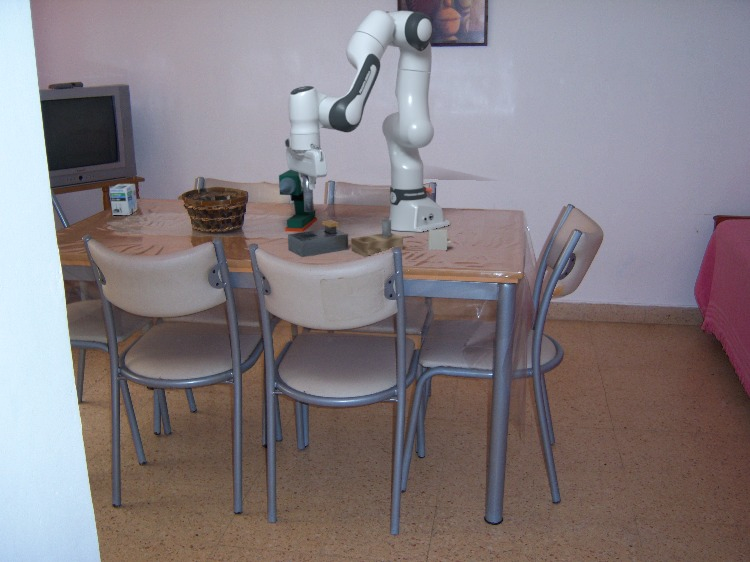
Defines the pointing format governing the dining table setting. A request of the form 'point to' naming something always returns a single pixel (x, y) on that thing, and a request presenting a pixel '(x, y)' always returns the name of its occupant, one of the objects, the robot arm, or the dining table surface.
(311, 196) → the bit
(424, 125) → the robot arm
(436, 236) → the pale grey square block
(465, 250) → the dining table surface
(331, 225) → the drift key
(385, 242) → the rack
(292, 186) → the power tool
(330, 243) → the socket block
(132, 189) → the light bulb box
